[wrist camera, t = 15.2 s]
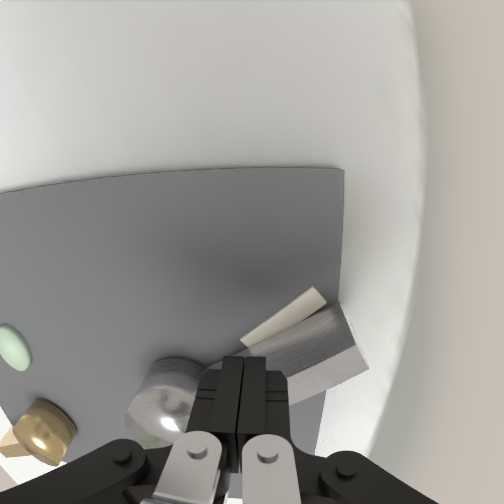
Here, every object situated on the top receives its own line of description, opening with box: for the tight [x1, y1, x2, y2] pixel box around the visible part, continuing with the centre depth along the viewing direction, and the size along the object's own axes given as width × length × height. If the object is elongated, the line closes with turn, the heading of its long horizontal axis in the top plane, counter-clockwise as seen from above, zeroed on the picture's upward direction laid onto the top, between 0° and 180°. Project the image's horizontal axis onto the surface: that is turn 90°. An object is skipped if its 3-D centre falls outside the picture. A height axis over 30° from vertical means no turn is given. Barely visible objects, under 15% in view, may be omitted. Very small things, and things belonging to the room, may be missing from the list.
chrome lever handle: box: [124, 302, 369, 449], centre depth 16 cm, size 14×5×4 cm, turn 122°
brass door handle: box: [0, 399, 76, 466], centre depth 20 cm, size 14×5×4 cm, turn 123°
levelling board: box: [0, 167, 344, 499], centre depth 20 cm, size 29×33×2 cm
